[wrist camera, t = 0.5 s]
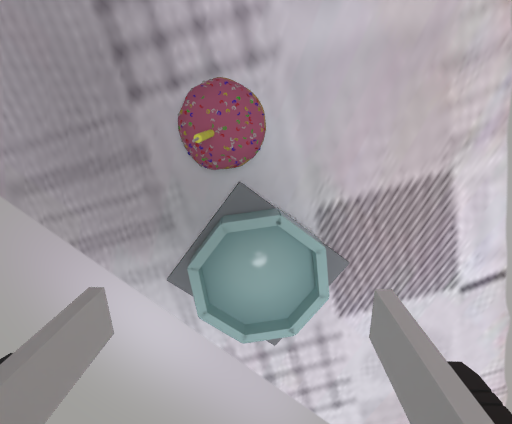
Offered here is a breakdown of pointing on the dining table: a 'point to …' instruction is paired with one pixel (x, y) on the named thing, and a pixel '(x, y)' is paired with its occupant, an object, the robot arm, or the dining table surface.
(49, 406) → the robot arm
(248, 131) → the cupcake
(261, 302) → the bowl
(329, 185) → the dining table surface
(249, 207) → the placemat
